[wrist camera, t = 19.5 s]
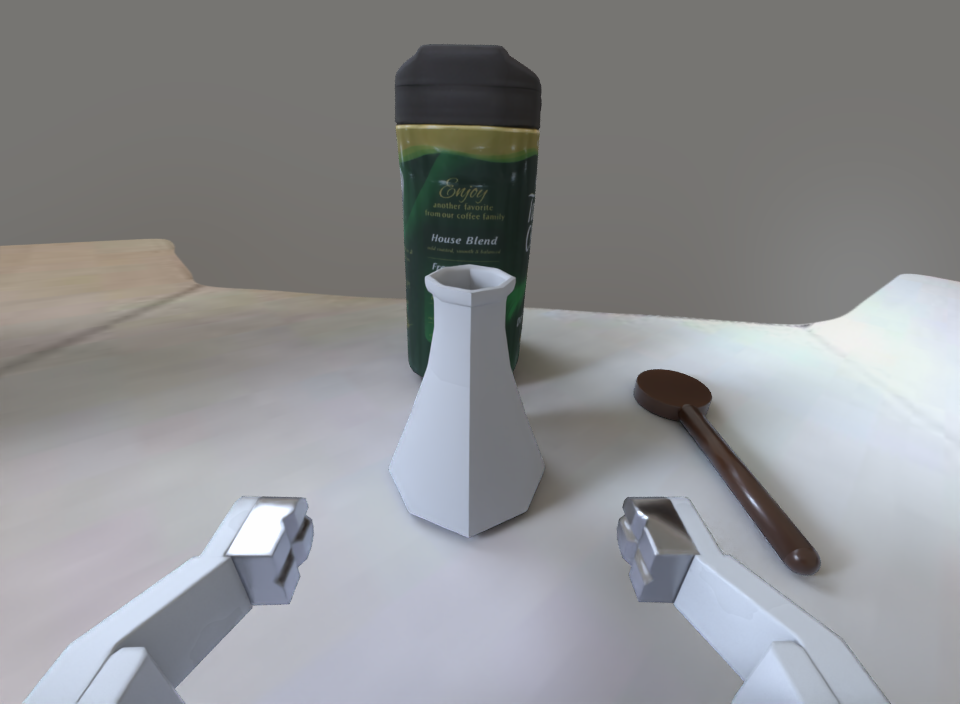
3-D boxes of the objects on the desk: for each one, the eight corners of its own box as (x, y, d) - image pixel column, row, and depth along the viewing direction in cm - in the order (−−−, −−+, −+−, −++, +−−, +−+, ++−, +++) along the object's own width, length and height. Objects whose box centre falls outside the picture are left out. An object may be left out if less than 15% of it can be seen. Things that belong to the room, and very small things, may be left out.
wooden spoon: (861, 582, 15) (877, 562, 15) (748, 582, 15) (760, 562, 15) (686, 381, 28) (691, 367, 27) (623, 380, 27) (627, 366, 27)
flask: (468, 572, 15) (473, 337, 10) (362, 473, 19) (331, 274, 15) (570, 471, 20) (605, 278, 15) (466, 410, 24) (468, 243, 19)
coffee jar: (518, 398, 25) (551, 29, 16) (397, 387, 26) (366, 27, 17) (521, 332, 34) (544, 65, 25) (430, 326, 34) (421, 64, 26)
